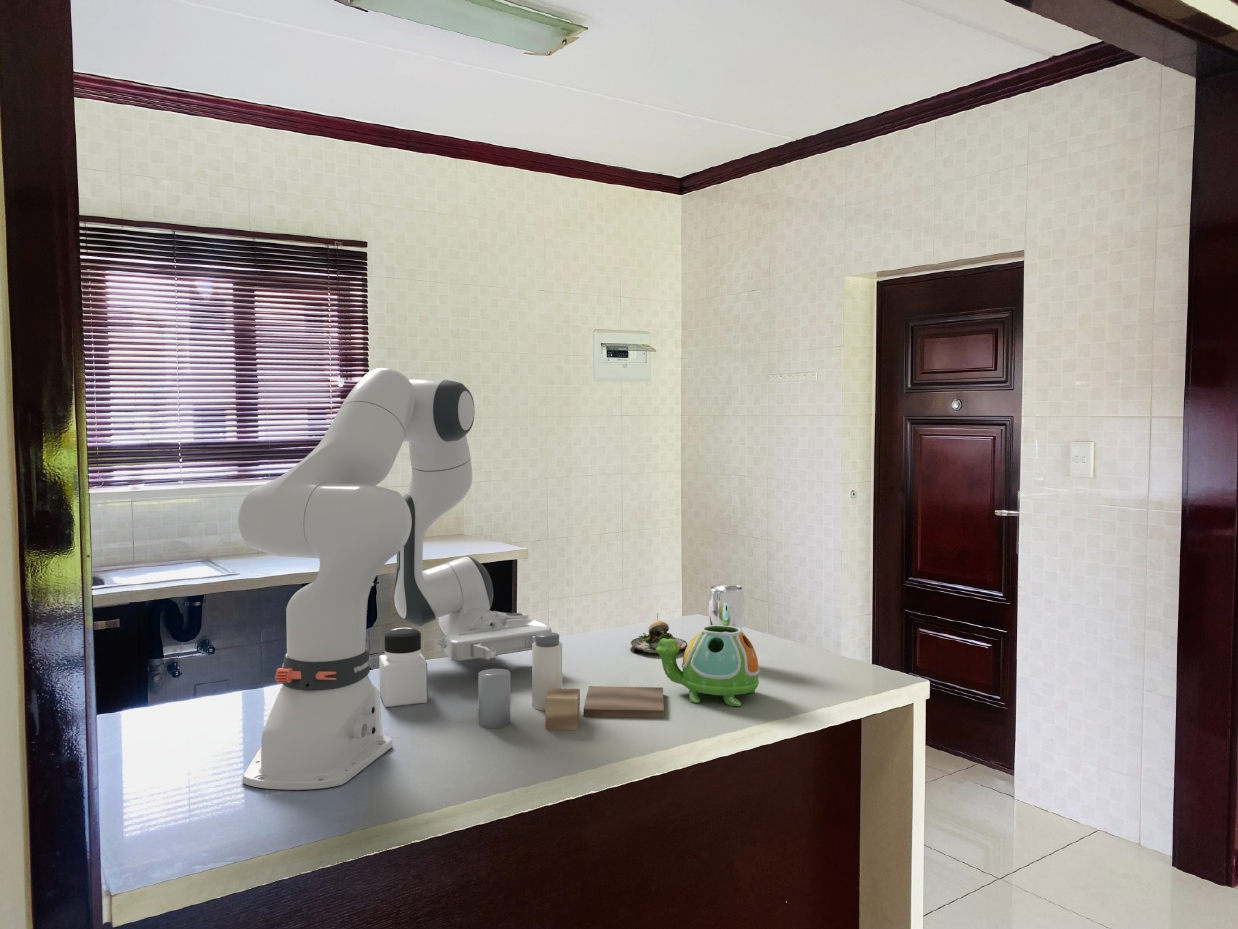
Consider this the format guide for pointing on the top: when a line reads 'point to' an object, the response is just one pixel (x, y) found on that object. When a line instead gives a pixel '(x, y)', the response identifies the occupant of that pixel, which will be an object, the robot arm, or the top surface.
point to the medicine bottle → (403, 669)
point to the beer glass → (726, 605)
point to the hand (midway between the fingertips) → (516, 651)
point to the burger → (655, 638)
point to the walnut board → (624, 702)
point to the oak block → (562, 709)
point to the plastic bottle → (545, 667)
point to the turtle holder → (713, 663)
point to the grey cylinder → (494, 698)
